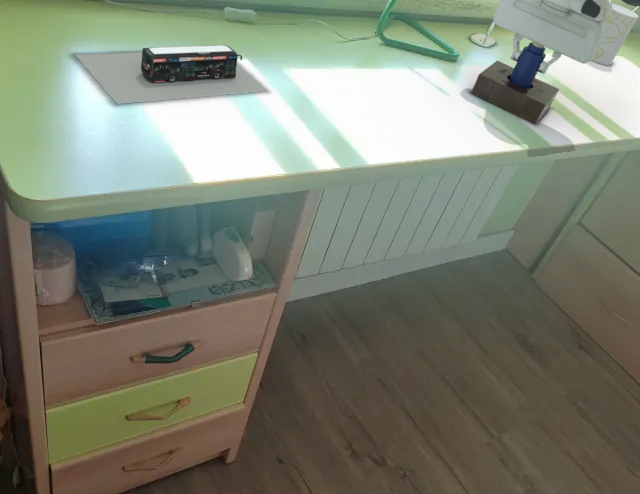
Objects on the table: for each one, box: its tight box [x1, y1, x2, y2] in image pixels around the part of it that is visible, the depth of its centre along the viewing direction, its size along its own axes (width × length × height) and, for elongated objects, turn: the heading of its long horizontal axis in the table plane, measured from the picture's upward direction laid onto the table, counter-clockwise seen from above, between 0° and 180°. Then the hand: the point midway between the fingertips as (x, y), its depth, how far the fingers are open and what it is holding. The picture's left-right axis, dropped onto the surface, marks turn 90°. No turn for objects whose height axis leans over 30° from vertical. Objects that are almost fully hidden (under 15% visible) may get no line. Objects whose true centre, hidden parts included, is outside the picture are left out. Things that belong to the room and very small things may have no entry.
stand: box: [470, 8, 496, 48], centre depth 143 cm, size 8×5×8 cm
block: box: [470, 60, 560, 125], centre depth 121 cm, size 14×12×4 cm
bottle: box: [509, 41, 547, 88], centre depth 117 cm, size 4×4×12 cm
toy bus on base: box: [75, 44, 267, 105], centre depth 93 cm, size 14×25×4 cm, turn 127°
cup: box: [591, 3, 640, 66], centre depth 156 cm, size 8×8×12 cm
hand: (528, 66), depth 118 cm, fingers closed on bottle, 4 cm apart
